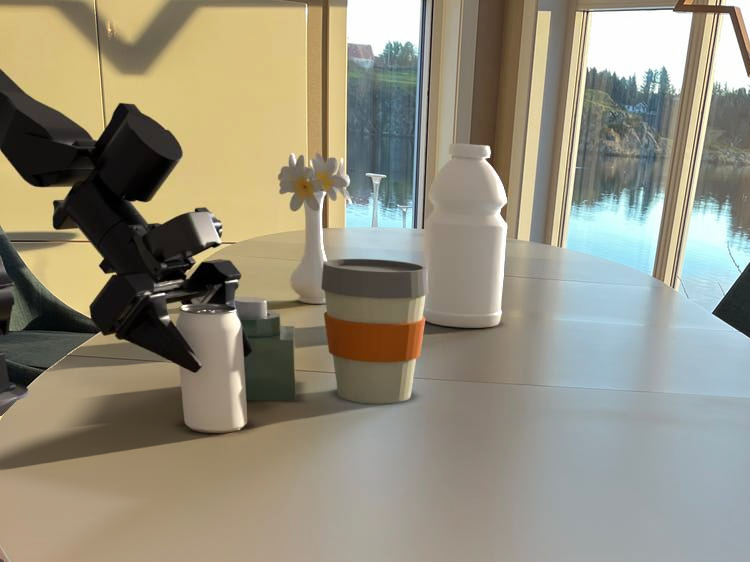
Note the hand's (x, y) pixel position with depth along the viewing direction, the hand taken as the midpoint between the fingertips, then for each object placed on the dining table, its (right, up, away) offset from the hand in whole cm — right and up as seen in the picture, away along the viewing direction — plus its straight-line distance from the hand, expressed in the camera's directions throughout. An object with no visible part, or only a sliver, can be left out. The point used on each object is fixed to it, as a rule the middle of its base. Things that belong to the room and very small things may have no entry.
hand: (224, 361), depth 97 cm
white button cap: (-1, +9, +14) cm, 17 cm away
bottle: (+23, +28, +71) cm, 79 cm away
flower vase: (-4, +35, +81) cm, 88 cm away
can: (-2, -6, +4) cm, 7 cm away
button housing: (-1, +2, +18) cm, 18 cm away
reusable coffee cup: (+13, +2, +20) cm, 24 cm away
